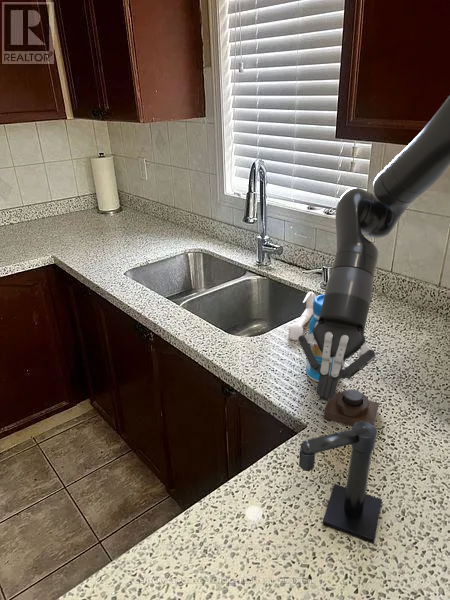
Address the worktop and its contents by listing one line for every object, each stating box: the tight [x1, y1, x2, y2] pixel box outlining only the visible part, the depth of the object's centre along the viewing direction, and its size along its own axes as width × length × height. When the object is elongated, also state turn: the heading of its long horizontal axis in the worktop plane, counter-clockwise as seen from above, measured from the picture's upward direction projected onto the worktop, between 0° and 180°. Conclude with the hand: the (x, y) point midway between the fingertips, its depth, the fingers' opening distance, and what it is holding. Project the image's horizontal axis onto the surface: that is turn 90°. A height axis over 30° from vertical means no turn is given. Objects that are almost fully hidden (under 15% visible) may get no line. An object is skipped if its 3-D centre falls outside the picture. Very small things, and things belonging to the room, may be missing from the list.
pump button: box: [344, 388, 363, 407], centre depth 93 cm, size 4×4×2 cm
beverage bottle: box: [305, 293, 335, 383], centre depth 103 cm, size 8×8×20 cm
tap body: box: [322, 446, 383, 545], centre depth 70 cm, size 8×8×15 cm
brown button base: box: [323, 389, 380, 428], centre depth 94 cm, size 10×7×4 cm
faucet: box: [288, 291, 317, 341], centre depth 127 cm, size 4×18×10 cm, turn 153°
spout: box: [298, 421, 378, 472], centre depth 65 cm, size 12×3×4 cm, turn 106°
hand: (324, 400), depth 71 cm, fingers closed
